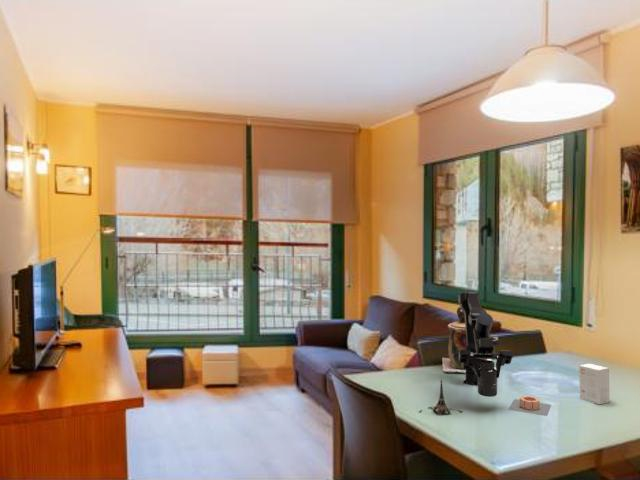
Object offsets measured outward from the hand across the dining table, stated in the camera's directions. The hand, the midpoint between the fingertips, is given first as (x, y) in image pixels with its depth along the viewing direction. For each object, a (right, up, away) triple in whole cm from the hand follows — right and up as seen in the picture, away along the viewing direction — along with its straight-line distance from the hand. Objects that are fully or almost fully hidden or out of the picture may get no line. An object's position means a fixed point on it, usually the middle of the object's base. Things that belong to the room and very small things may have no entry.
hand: (488, 377), depth 174 cm
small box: (+44, -12, +10) cm, 47 cm away
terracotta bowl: (+16, -12, +2) cm, 20 cm away
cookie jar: (+10, -12, +57) cm, 59 cm away
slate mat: (+16, -12, +2) cm, 20 cm away
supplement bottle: (0, -7, +1) cm, 7 cm away
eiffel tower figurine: (-17, -13, -1) cm, 21 cm away
